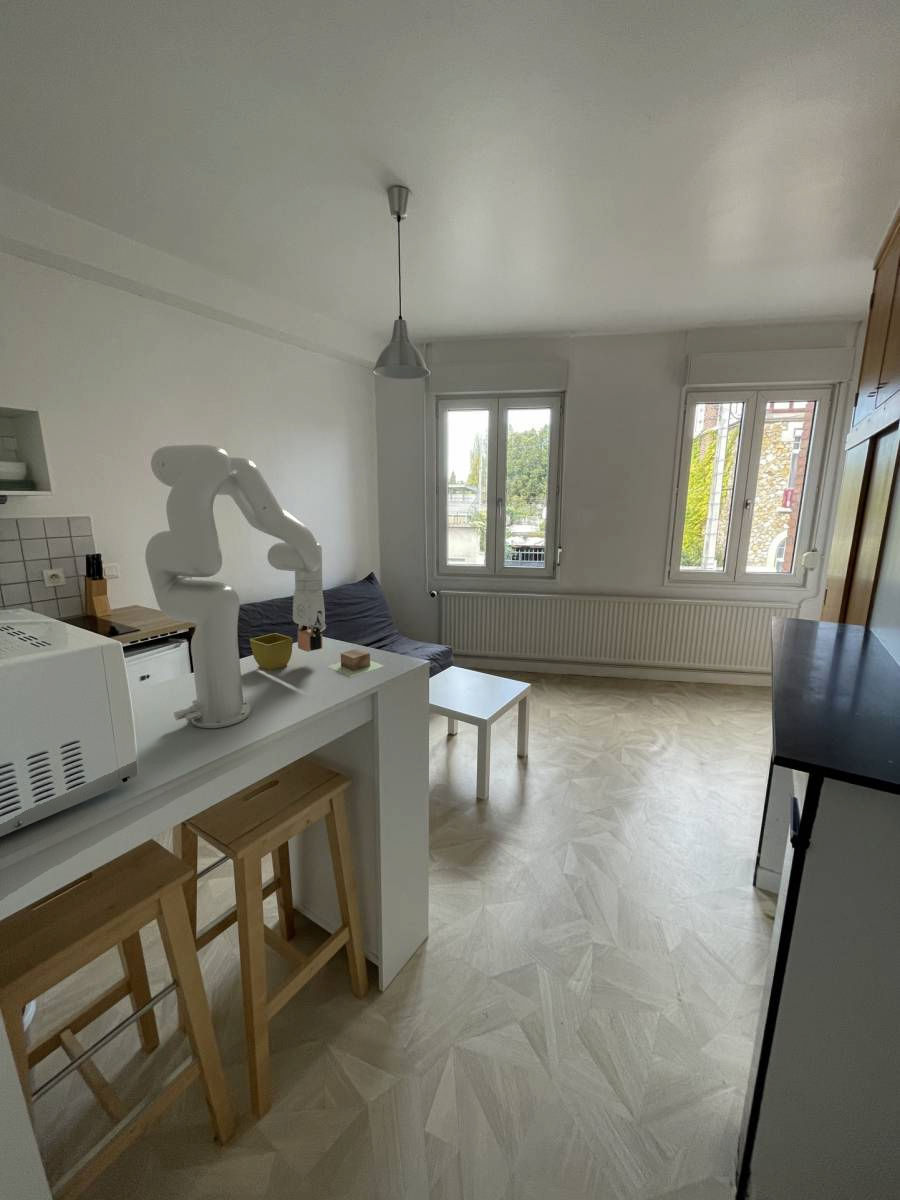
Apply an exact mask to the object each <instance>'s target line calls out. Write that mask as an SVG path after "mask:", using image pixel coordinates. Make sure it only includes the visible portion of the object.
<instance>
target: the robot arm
mask: <svg viewBox="0 0 900 1200" xmlns="http://www.w3.org/2000/svg"><path fill="white" fill-rule="evenodd" d="M150 459H151V461H150V467H151V471H152V473H153V475H154V477H155V478H156V479H157V480H158V481H159V482H161V483H162V484H163V485H165V486H168V487H170V492H169V494H168V497H167V499H166V505H165V506H166V508H165V509H166V510H165V511H166V518H167V523H168V528H169V529H168V530H164V531H160V532H157V533H156V534H155V535H153V536H152V537H150V539H149V540H148V542H147V545H146V548H145V553H144V555H145V556H144V557H145V564H146V569H147V572H148V576H149V579H150V582H151V586H152V590H153V593H154V597H155V600H156V603H157V606H158V607H159V609H160V612H162V614H163V615H164V616H165V617H167V618H168V619H171V620H173V621H179V622H185V623H192V624H195V625H196V628H195V630H194V633H193V634H192V638H191V641H190V652H191V653H190V654H191V658H192V660H191V661H192V666H193V667H192V668H193V675H194V676H193V678H194V685H195V686H194V687H195V695H196V699H194V700H192V702H191V703H192V705H189V706H188V708H185V709H179V710H176V711H174V712H173V717H174V719H175V721H180V720H182V719H184V720H185V721H186V722H189V721H191V723H192V725H193V726H195V727H197V728H200V729H201V728H203V729H218V728H224V727H229V726H232V725H236V724H238V723H240V722H242V721H245V720H246V719H247V718H249V717H250V715H251V713H252V706H251V704H250V703H248V702H246V701H244V696H243V695H244V694H243V686H242V685H243V683H242V682H243V681H242V672H241V662H240V661H241V660H240V650H239V637H238V636H239V635H238V623H239V612H240V598H239V595H238V593H237V591H236V590H235V589H234V588H233V587H232V586H231V585H229V584H227V583H225V582H224V583H223V582H220V581H215V580H214V581H213V580H203V579H193V578H209V577H213V576H215V575H216V574H218V573H220V571H221V568H222V567H223V566H222V565H223V556H222V555H223V553H222V548H221V544H220V540H219V535H218V532H217V527H216V521H215V515H214V504H215V503H214V502H215V499H216V497H217V495H218V496H221V495H223V496H225V495H226V496H230V497H231V498H232V500H233V501H234V503H235V504H236V505H237V507H238V508H239V510H240V511H241V513H242V514H243V516H244V517H245V519H246V521H247V522H248V524H249V525H250V526H251V527H252V528H254V529H256V530H258V531H260V532H262V533H264V534H266V535H268V536H272V537H274V538H277V539H279V540H281V541H283V542H278V543H275V544H273V545H271V547H270V548H269V549H268V552H267V562H268V563H269V565H270V566H271V567H273V568H274V569H276V570H280V571H286V572H288V571H289V572H294V587H295V589H294V593H293V597H292V598H293V600H292V620H293V623H295V624H296V626H297V627H298V628H297V632H298V631H303V630H309V628H310V629H311V634H312V636H310V645H311V650H313V651H317V650H316V649H318V650H321V649H320V648H321V635H322V636H323V632H324V630H325V629H326V628H327V624H326V623H325V622H326V621H325V620H326V615H325V614H326V610H325V608H326V607H325V601H324V600H325V599H324V594H323V550H322V549H323V548H322V545H321V544H320V543H319V542H317V540H316V538H315V536H314V535H313V533H312V532H311V530H310V529H309V528H308V527H307V526H306V525H305V524H303V523H302V522H301V521H300V520H298V519H297V518H296V517H295V516H293V515H292V514H291V513H289V512H288V511H286V510H285V509H283V508H282V507H281V506H280V504H279V502H278V500H277V499H276V497H275V496H274V494H273V492H272V490H271V488H270V487H269V485H268V483H267V482H266V480H265V478H264V476H263V474H262V473H261V472H260V470H259V467H258V466H257V465H256V464H255V463H254V462H253V461H251V460H250V459H249V458H248V459H247V458H244V457H230V456H229V454H228V453H227V451H226V450H224V449H223V448H220V446H216V445H211V444H184V445H183V444H182V445H177V444H176V445H166V446H162V447H159V448H158V449H157V450H155V451H154V452H153V454H152V456H151V458H150Z"/></svg>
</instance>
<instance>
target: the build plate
mask: <svg viewBox="0 0 900 1200" xmlns="http://www.w3.org/2000/svg"><path fill="white" fill-rule="evenodd" d="M326 667H327V668H329V669H332V670H334V671H336V672H338V673H341V674H343V675H345V676H348V677H350V678H353V677H357V676H359V675H362V674H363V675H364V674H365V673H369V672H372V671H374V670H377V669H380V668H384V667H385V665H384V664H380V663H378V662H375V661H372V660H370V666H369V667H366V668H363V669H360V670H357V671H351V670H349V669H346V668H344V667H342V666H341V661H339V662H337V663H333V664H330V665H326Z"/></svg>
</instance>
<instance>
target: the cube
mask: <svg viewBox="0 0 900 1200" xmlns="http://www.w3.org/2000/svg"><path fill="white" fill-rule="evenodd" d="M310 636H312V634H311V629H308V630H303V631H298V630H297V648H298V649H299V650H301V651H302V650H303V651H305V652H308V653H310V652H313V651H314V650H311V645H310ZM322 649H323V634H322V635H321V648H320V649H316V650H315V651H317V650H318V651H319V650H322Z"/></svg>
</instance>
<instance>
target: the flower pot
mask: <svg viewBox="0 0 900 1200" xmlns="http://www.w3.org/2000/svg"><path fill="white" fill-rule="evenodd" d="M293 642H294V638H293V637H290V636H286V635H284V634H280V633H278V632H276V633H275V632H274V633H270V634H266V635H265V634H264V635H262V636H258V637H254V638H251V639H249V643H250V648H251V651H252V655H253V656H252V657H253V658H254V660H255V662H256V663H257V665H258V667H260V668H263V669H266V670H268V671H272V670H277V669H278V668H282V667H286V666H287V665H288V664H289V662H290V661H291V658H292V657H291V656H292V653H293Z"/></svg>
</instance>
